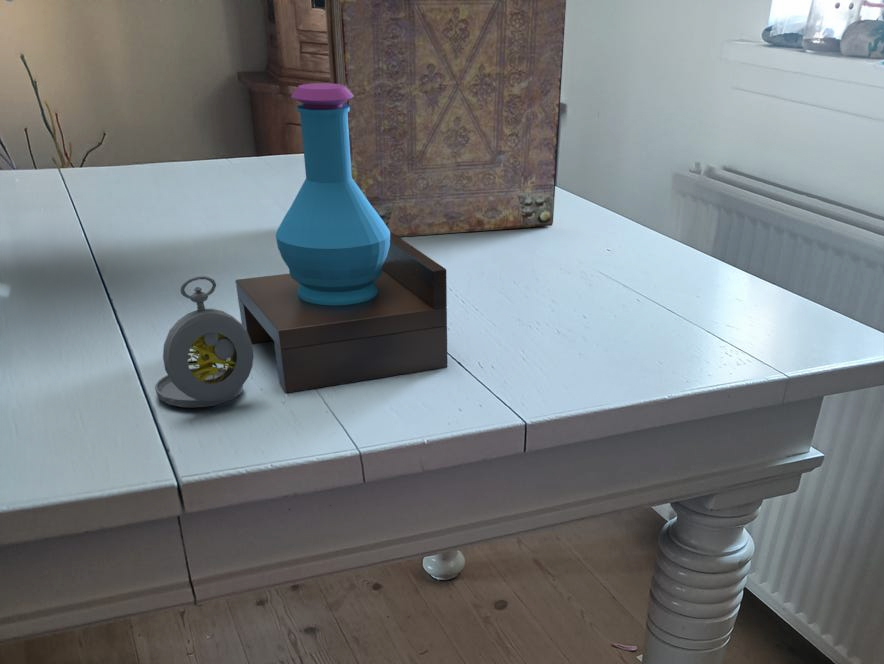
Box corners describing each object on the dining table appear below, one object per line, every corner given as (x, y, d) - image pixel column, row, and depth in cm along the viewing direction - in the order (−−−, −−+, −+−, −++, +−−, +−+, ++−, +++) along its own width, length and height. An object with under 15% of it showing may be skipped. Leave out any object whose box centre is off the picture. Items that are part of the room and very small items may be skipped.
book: (353, 240, 110) (332, -81, 91) (339, 221, 116) (316, -81, 98) (553, 226, 116) (571, -77, 97) (529, 209, 123) (540, -77, 104)
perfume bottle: (347, 318, 73) (331, 98, 64) (259, 297, 76) (232, 87, 67) (414, 288, 79) (408, 84, 70) (329, 270, 83) (313, 75, 74)
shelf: (286, 393, 73) (273, 290, 68) (243, 336, 83) (229, 243, 78) (447, 367, 78) (446, 269, 73) (389, 316, 88) (384, 227, 83)
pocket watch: (190, 374, 76) (167, 246, 70) (279, 390, 74) (263, 259, 68) (126, 412, 70) (94, 275, 64) (220, 430, 68) (197, 291, 62)
